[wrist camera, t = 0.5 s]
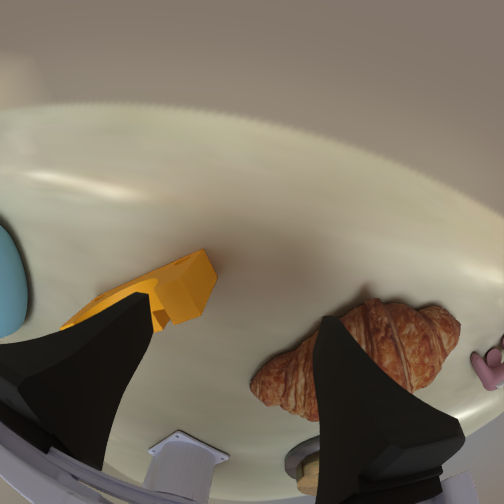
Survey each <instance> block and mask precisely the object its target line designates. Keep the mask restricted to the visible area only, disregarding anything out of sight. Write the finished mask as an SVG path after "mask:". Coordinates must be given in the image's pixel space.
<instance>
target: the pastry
mask: <svg viewBox="0 0 504 504" xmlns="http://www.w3.org/2000/svg"><path fill="white" fill-rule="evenodd" d="M339 320H340V321H341V322H342V323H343V325H344V326H345V327H346V328H347V330H348V331H349V332H350V334H351V335H352V336H353V337H354V339H355V340H356V341H357V342H358V344H359V345H360V346H361V347H362V348H363V350H364V351H365V352H366V353H367V354H368V355H369V356H370V357H371V358H372V360H373V361H374V362H375V363H376V364H377V365H378V366H379V367H380V368H381V369H382V370H383V371H384V372H385V373H386V374H388V375H389V376H390V377H391V378H392V379H393V380H394V381H395V382H397V383H398V384H399V385H400V386H402V387H403V388H404V389H406V390H407V391H408V392H410V393H411V394H413V392H414V391H416V390H418V389H420V388H425V387H427V386H428V385H430V384H431V383H432V381H433V380H434V379H435V377H436V375H437V373H438V372H439V371H440V370H441V366H442V364H443V363H444V361H445V359H446V357H447V356H448V355H449V353H450V352H451V351H452V350H453V349H454V348H455V347H456V345H457V343H458V341H459V336H460V329H461V328H460V326H461V324H460V323H459V322H458V321H457V320H456V319H455V318H454V317H453V316H452V315H451V314H450V313H449V312H448V311H447V310H446V309H443V308H441V307H438V306H430V307H426V308H423V309H420V310H414V309H413V308H411V307H408V306H407V305H405V304H397V303H389V304H385V305H383V304H382V302H381V300H380V299H379V298H375V299H369V300H367V301H365V302H364V303H363V304H362V305H361V306H358V307H356V308H354V309H352V310H350V311H349V312H348V313H347V314H346V315H345V316H343V317H340V318H339ZM319 328H320V327H319ZM318 332H319V329H318V330H317V331H316V332H315V333H314V335H312V336H311V337H309V338H308V339H306V340H305V341H303V343H302V344H301V345H300V346H299V347H298V348H297V349H296V350H292V351H290V352H287V353H285V354H280V355H278V356H277V357H275V358H274V359H272V360H271V361H269V362H268V363H267V364H266V365H264V366H263V368H262V369H261V370H259V372H258V373H257V375H256V376H255V377H254V378H253V379H252V382H251V383H250V390H251V391H252V393H253V394H254V395H255V396H256V397H257V398H258V399H259V400H260V401H261V402H263V403H264V404H265V405H266V406H278V405H280V406H281V408H283V409H284V410H287V411H288V412H289V413H291V414H293V415H300V416H301V417H303V418H306V419H307V420H309V421H315V422H316V421H319V414H318V406H317V399H316V393H315V386H314V379H313V361H312V352H313V349H314V346H315V342H316V339H317V335H318Z"/></svg>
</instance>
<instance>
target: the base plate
mask: <svg viewBox="0 0 504 504" xmlns="http://www.w3.org/2000/svg"><path fill="white" fill-rule="evenodd" d="M319 451H320V435H319V436H316V437H314V438H311V439H309V440H306V441H304V442H302V443H300V444H299V445H297V446H296V447H294V448H293V449H292V450H291V451H290V452H289V453H288V454H287V455H286V458H285V471H286V473H287V474H288V475H289V476H290V477H292V478H294V479H296V467H297V466H298V464H299V463H300V462H301V461H302V460H304V459H305V458H307V457H308V456H310V455H312V454H314V453H317V452H319Z"/></svg>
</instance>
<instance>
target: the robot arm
mask: <svg viewBox="0 0 504 504" xmlns="http://www.w3.org/2000/svg"><path fill="white" fill-rule="evenodd" d="M153 332H154V329H153V322H152V315H151V308H150V300H149V294H147V293H141V292H134V293H132V294H130V295H128V296H127V297H125V298H123V299H121V300H120V301H118V302H116V303H114V304H113V305H111V306H109V307H107V308H106V309H104V310H102V311H101V312H99V313H97V314H95V315H93V316H91V317H89V318H87V319H85V320H83V321H82V322H80V323H77V324H75V325H73V326H71V327H68V328H66V329H63V330H61V331H58V332H55V333H52V334H49V335H46V336H43V337H40V338H36V339H32V340H27V341H22V342H16V343H8V344H0V476H1V477H2V478H3V479H4V480H5V481H6V482H7V483H8V484H10V485H11V486H12V487H13V488H14V489H15V490H16V491H18V492H19V493H20V494H21V495H22V496H24V497H25V498H26V499H27V500H29V501H30V502H31V503H33V504H113V503H112V502H110V501H108V500H107V499H105V498H104V497H103V496H102V495H101V494H99V493H98V492H96V491H94V490H92V489H91V488H89V487H87V486H85V485H83V484H82V483H80V482H79V481H81V482H83V483H85V484H87V485H89V486H91V487H93V488H95V489H97V490H100V491H101V492H104V493H106V494H109V495H111V496H113V497H116V498H118V499H121V500H123V501H126V502H129V504H208V499H209V493H210V488H211V482H212V477H213V471H214V466H215V465H217V464H219V463H221V462H224V461H226V460H228V459H229V455H227V454H225V453H222V452H220V451H218V450H216V449H214V448H212V447H210V446H208V445H206V444H204V443H202V442H200V441H198V440H196V439H194V438H192V437H190V436H188V435H186V434H185V433H183V432H181V431H176V432H175V433H173V434H172V435H170V436H169V437H167V438H166V439H164V440H163V441H161V442H160V443H158V444H157V445H155V446H153V447H152V448H150V449H149V450H148V453H149V454H151V455H153V457H152V460H151V463H150V465H149V468H148V471H147V474H146V476H145V479H144V482H143V487H140V486H136V485H133V484H131V483H128V482H125V481H123V480H120V479H118V478H115V477H113V476H110V475H108V474H105V473H103V472H101V471H102V466H103V461H104V456H105V451H106V446H107V442H108V438H109V434H110V431H111V427H112V424H113V421H114V418H115V415H116V412H117V409H118V406H119V404H120V401H121V398H122V396H123V393H124V391H125V389H126V387H127V385H128V383H129V382H130V380H131V378H132V376H133V374H134V372H135V371H136V369H137V367H138V365H139V363H140V362H141V360H142V358H143V356H144V354H145V352H146V350H147V348H148V346H149V343H150V341H151V338H152V335H153ZM312 361H313V379H314V386H315V393H316V399H317V406H318V414H319V424H320V454H319V473H318V486H317V494H316V502H315V504H479V500H478V496H477V492H476V488H475V485H474V481H473V478H472V474H471V471H470V470H467V471H464V472H461V473H459V474H457V475H454V476H451V477H449V478H447V479H445V480H443V481H441V482H440V478H439V475H441V474H442V473H443V470H442V466H441V465H442V464H443V463H445V462H446V461H447V460H448V459H449V458H451V457H452V456H453V455H454V454H455V453H456V452H457V451H458V450H460V448H461V447H462V446H463V444H464V442H465V436H464V433H463V431H462V428H461V426H460V423H459V421H458V419H456V418H454V417H452V416H450V415H448V414H446V413H443V412H441V411H439V410H437V409H435V408H433V407H432V406H430V405H428V404H427V403H425V402H423V401H422V400H420V399H418V398H417V397H415V396H414V395H413V394H411V393H410V392H408V391H407V390H406V389H404V388H403V387H402V386H400V385H399V384H398V383H397V382H395V381H394V380H393V379H392V378H391V377H390V376H389V375H388V374H386V373H385V372H384V371H383V370H382V369H381V368H380V367H379V366H378V365H377V364H376V363H375V362H374V361H373V360H372V358H371V357H370V356H369V355H368V354H367V353H366V352H365V351H364V350H363V348H362V347H361V346H360V345H359V344H358V342H357V341H356V340H355V339H354V337H353V336H352V335H351V334H350V332H349V331H348V330H347V328H346V327H345V326H344V325H343V323H342V322H341V321H340V320H339V318H338V317H331V316H323V318H322V321H321V325H320V328H319V332H318V335H317V339H316V342H315V346H314V349H313V352H312ZM78 480H79V481H78Z"/></svg>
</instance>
